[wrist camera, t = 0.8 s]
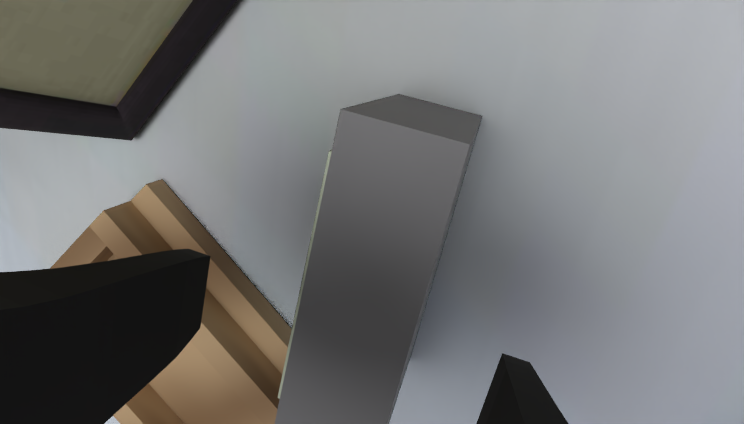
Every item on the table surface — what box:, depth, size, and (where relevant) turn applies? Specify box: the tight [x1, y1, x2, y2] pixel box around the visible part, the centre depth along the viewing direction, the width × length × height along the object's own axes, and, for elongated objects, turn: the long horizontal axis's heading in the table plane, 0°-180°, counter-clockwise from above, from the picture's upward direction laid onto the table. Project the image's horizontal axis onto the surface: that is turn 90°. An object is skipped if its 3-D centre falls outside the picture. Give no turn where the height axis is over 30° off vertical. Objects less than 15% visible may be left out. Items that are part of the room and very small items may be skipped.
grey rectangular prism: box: [275, 94, 482, 424], centre depth 16 cm, size 3×10×7 cm, turn 167°
